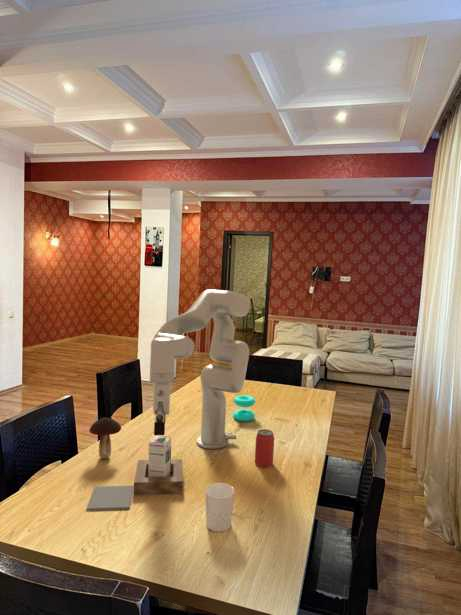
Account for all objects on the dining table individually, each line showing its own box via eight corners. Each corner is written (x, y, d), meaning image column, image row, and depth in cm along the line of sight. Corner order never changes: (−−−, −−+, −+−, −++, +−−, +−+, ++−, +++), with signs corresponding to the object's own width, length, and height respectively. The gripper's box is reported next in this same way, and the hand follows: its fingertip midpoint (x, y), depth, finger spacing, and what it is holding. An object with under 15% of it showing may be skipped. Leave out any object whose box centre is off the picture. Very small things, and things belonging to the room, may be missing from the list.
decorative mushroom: (95, 450, 160) (95, 411, 159) (124, 452, 160) (125, 413, 159) (84, 464, 150) (84, 422, 148) (115, 466, 149) (116, 424, 148)
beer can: (274, 461, 158) (276, 430, 156) (270, 469, 151) (272, 437, 150) (257, 458, 160) (259, 427, 158) (252, 466, 153) (254, 433, 152)
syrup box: (164, 487, 136) (166, 443, 135) (147, 485, 138) (148, 441, 136) (170, 479, 142) (172, 436, 141) (154, 476, 143) (155, 434, 142)
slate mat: (133, 487, 136) (133, 485, 136) (129, 508, 124) (129, 507, 124) (94, 488, 134) (94, 486, 134) (86, 510, 122) (86, 508, 122)
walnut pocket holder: (182, 470, 148) (182, 459, 148) (182, 493, 133) (183, 481, 133) (137, 471, 146) (138, 460, 146) (133, 495, 131) (133, 482, 131)
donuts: (233, 400, 195) (234, 393, 205) (232, 421, 196) (234, 413, 206) (254, 401, 194) (255, 395, 204) (253, 423, 195) (254, 415, 205)
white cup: (204, 516, 122) (205, 482, 121) (231, 516, 123) (233, 482, 122) (204, 533, 114) (206, 498, 113) (234, 533, 115) (235, 497, 114)
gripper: (173, 384, 128) (171, 439, 129) (173, 370, 145) (171, 419, 147) (148, 383, 127) (146, 439, 128) (151, 370, 144) (149, 419, 146)
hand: (159, 429), depth 137 cm, fingers open, 9 cm apart
